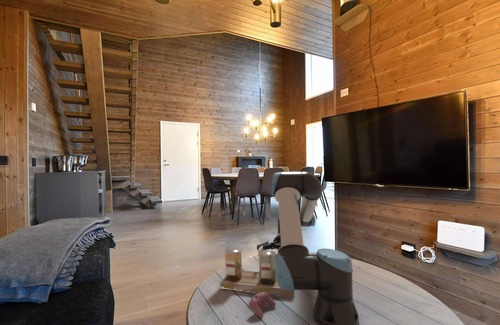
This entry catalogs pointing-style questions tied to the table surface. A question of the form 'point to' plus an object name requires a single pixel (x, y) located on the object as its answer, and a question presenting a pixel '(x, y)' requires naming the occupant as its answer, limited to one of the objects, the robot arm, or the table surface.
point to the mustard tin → (233, 264)
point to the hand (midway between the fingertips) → (272, 254)
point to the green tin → (267, 267)
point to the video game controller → (262, 298)
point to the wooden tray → (255, 285)
